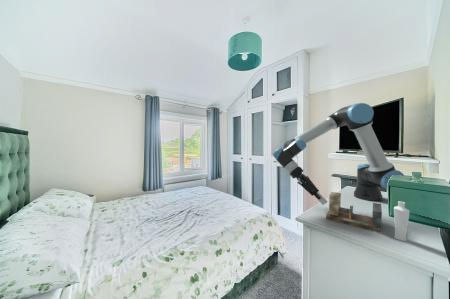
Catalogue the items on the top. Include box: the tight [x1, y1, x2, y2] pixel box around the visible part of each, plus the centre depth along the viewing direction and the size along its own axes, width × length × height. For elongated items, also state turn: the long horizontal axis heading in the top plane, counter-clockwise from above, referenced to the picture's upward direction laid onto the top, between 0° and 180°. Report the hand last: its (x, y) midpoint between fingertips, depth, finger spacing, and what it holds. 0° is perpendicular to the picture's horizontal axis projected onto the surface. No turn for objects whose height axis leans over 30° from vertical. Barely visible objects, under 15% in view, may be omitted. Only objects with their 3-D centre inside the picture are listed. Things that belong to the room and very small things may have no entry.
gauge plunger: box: [328, 191, 350, 216], centre depth 89 cm, size 8×7×10 cm
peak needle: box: [348, 205, 354, 220], centre depth 85 cm, size 1×9×4 cm, turn 139°
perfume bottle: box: [393, 200, 411, 242], centre depth 70 cm, size 5×4×15 cm
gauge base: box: [325, 202, 383, 233], centre depth 85 cm, size 21×12×9 cm, turn 49°
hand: (325, 203), depth 93 cm, fingers closed
